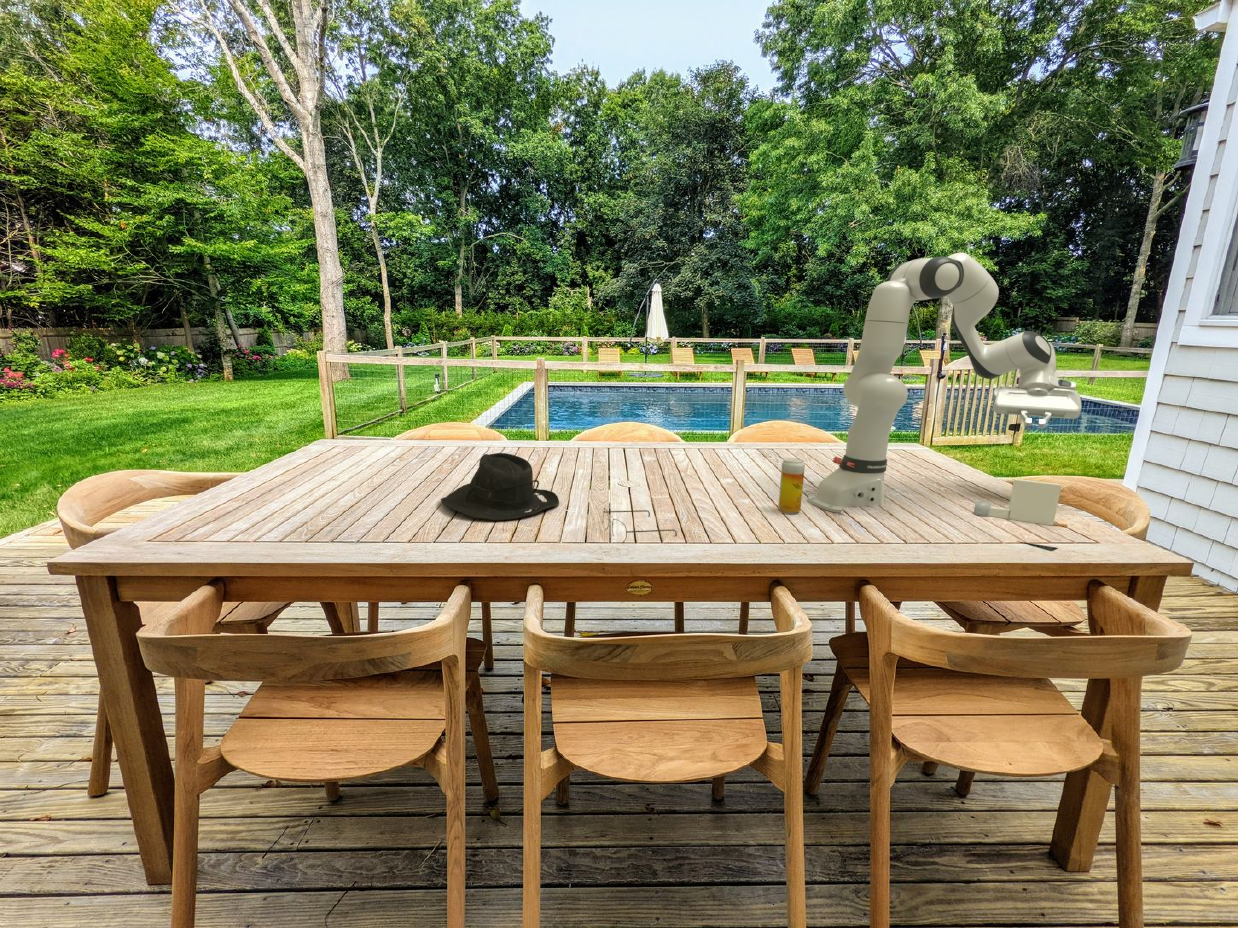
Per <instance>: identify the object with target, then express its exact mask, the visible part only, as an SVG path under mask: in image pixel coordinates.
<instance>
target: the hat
mask: <svg viewBox="0 0 1238 928" xmlns="http://www.w3.org/2000/svg"><path fill="white" fill-rule="evenodd" d="M533 474H534V473H533V467H532V465H531V464H530V462H529V461H528V460H526V459H525V458H523V457H520V456H517V455H515V454H511V453H506V452H497V453H489V454H488V453H485V454H484V453H483V455H482V456H481V457H480V459H479V464H478V468H477V470H476V472H475V473H474V475H473V477H472V478H471V480H470V482H469V483H467V484H466V483H465V484H464V485H461V486H460V487H458V488H456V489H455V490H453V491H452V492H451V493H449V494H448V495H446V496H445V497H442V498H440V501H441V503H442V505H444V506H445V507H447V508H449V509H451V510H454V511H455V512H457V513H460V514H463V515H466V516H468V517H471V518H472V519H483V520H490V521H507V520H508V521H509V520H517V519H520V518H525V517H529V516H533V515H537V514H539V513H540V512H541V511H543V510H544V511H545V510H547V509H549V508H550V509H551V508H554V507H555V508H556V507H558V506H559V504H560V500H559V497H558V495H557V494H556V493H555V492H553V491H551V490H548V489H538V488H539V485H540V481H539V480H538V479H533V477H534V475H533ZM534 483H537V484H536V486H535V488H534ZM539 496H543V498H544V499H545V500H546V501H542V499H541V498H540V497H539Z"/></svg>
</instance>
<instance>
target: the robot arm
mask: <svg viewBox="0 0 1238 928" xmlns="http://www.w3.org/2000/svg"><path fill="white" fill-rule="evenodd" d="M999 290H1000V289H999V286H998V285H997V283H996V281H995V280H994V277H992V275H991V274H990V273H989V272H988V271H987V270H986V268H984V267H983V265H982V264H981V263H980V262H978V261H977V260H976V259H975V258H973V257H972V256H971V255H969V254H968V253H965V252H955V253H953V254H950V255H948V256H936V257H921V258H917V259H912V260H910V261H904V262H901V263H899V264H897V265H896V266H895V267H894V268H893V269H891V270H890V272H889V274H888V275H887V278H886V280H885V281H884V282H882V283H880V284H878V285H877V286H876V287H875V289H874V290H873V292H872V295H871V297H870V300H869V304H868V307H867V311H866V315H865V320H864V324H863V325H864V326H863V331H862V336H861V341H860V346H859V351H858V353H857V356H856V359H855V362H854V364H853V366H852V369H851V372H850V374H849V376H848V377H847V379H845V382H844V384H843V394H844V396H845V398H846V399H847V400H848V402H849V403H850V404H851V405H853V406H855V407H857V412H856V414H855V417H854V420H853V423H852V424H851V425H850V426H849V428H848V430H847V438H846V448H845V454H844V455H842V456H843V457H842V458H841V457H838V456H833V458H832V462H833V464H836V465H838V468H837V469H835V470H834V471H832V472H831V473H830V474H829V475H827V476H825V478H823V479H821V480H820V481H819V484H818V486H817V489H816V494H814V495H809V496H808V497H807V502H809V503H810V504H812V505H814V506H816V507H818V508H820V509H823V510H825V511H828V512H832V513H840V514H841V513H842V510H843V509H844V508H845V507H883V506H885V504H886V498H885V472H886V471H887V466H888V458H887V452H888V447H889V446H888V445H889V438H890V434H891V430H892V426H893V425H894V421H895V419H896V417H897V414H898V412H899V410H900V409H902V408H903V407H904V405H905V404H906V402H907V400H908V397H909V396H908V393H909V391H908V388H907V386H906V384H905V383H904V382H903V381H902V380H901V379H900V378H898V377H896V376H894V375H893V374H891V372H892V370H893V367H894V365H895V363H896V361H897V359H898V358H899V357H900V356H901V355H902V354H903V351H904V346H905V340H906V335H907V331H908V326H909V321H910V313H911V309H912V307H913V305H914V303H915V302H916V301H925V300H933V299H935V300H936V299H941V298H944V297H946V298H947V300H948V301H949V302H950V303H951V304H952V307H953V308H954V309H953V310H954V311H953V312H952V313H951V319H950V320H951V324H952V326H953V329H954V331H955V333H956V335H957V337H958V339H959V341H960V343H961V345H962V346H963V349H964V350H965V352H966V354H967V356H968V358H969V361H970V364H971V366H972V369H973V371H974V373H975V374H976V375H977V376H978V377H980V378H983V379H985V380H993V379H996V378H999V377H1001V376H1003V375H1006V374H1008V373H1010V372H1013V371H1016V370H1018V371H1019V374H1020V376H1019V378H1018V385H1017V386H1006V385H1001V386H999V387H996V388H994V390H993V398H994V399H995V400H994V403H993V407H992V411H993V413H995V414H1000V415H1014V416H1019V418H1020V419H1021V420H1022V422H1023V427H1032V426H1031V425H1032V420H1033V419H1032V418H1030V417H1041V418H1042V417H1043V418H1042V419H1041V418H1040V419H1039V420H1038V422H1037V424H1038V425H1037V426H1038V428H1039V429H1040V428H1043V429H1045V428H1046V426H1047V425H1046V424H1047V422H1048V421H1050V420H1051V419H1050V418H1057V419H1068V420H1069V419H1070V420H1076V419H1077V418H1078V417H1080V414H1081V412H1082V407H1083V406H1082V400H1081V396H1080V394H1079V392H1078V391H1077V390H1076V389H1077V382H1076V381H1075V382H1074V381H1072V380H1066V379H1063V378H1061V377H1060V378H1059V377H1057V376H1056V375H1055V373H1056V371H1057V357H1056V350H1055V348H1054V346H1053V344H1052V343H1051V342H1049V341H1048V340H1047V338H1045V337H1044V336H1043V335H1041V334H1039V333H1037V332H1034V331H1030V330H1025V331H1022V332H1020V333H1017V334H1013V335H1011V336H1009V337H1007V338H1004V339H1003V340H1000V341H997V342H995V343H991V344H985V343H983V340H982V339H981V337H980V334H979V333H978V331H977V329H976V327H975V326H976V325H977V324H978V323H979V322H980V321H981V320H982V319H983V318H985V316H987V315H988V314H989V313H990V312H991V310H992V309H993V308H994V306H995V305H996V303H997V302H998V299H999V295H1000V294H999V293H1000V291H999ZM1028 416H1029V417H1028Z"/></svg>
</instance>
